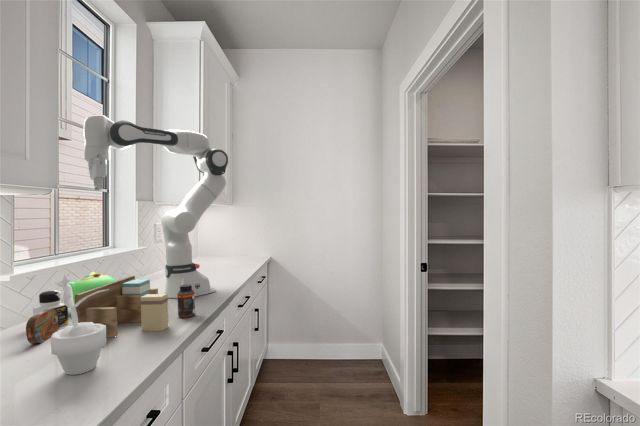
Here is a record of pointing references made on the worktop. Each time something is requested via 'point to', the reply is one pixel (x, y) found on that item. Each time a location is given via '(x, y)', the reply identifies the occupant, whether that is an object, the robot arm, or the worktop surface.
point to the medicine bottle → (52, 305)
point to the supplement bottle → (186, 301)
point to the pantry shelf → (110, 306)
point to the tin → (42, 326)
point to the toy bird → (89, 283)
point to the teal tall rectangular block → (136, 287)
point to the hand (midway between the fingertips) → (98, 189)
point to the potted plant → (77, 338)
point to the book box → (154, 312)
